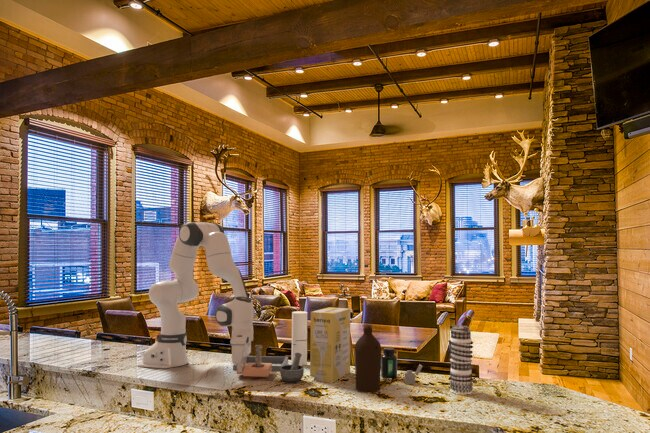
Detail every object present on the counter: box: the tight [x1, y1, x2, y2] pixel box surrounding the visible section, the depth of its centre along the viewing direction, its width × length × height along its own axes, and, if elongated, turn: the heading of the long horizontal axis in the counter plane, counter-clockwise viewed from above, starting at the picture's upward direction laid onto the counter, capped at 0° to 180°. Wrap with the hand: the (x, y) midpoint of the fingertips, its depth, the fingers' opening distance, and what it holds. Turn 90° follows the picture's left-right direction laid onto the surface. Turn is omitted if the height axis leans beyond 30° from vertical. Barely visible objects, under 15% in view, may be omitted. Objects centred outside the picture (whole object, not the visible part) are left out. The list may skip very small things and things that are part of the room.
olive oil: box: [353, 323, 382, 393], centre depth 186 cm, size 11×11×25 cm
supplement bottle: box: [380, 347, 398, 379], centre depth 203 cm, size 7×7×12 cm
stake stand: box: [237, 344, 278, 382], centre depth 197 cm, size 14×14×14 cm
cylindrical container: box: [290, 310, 308, 367], centre depth 219 cm, size 7×7×25 cm
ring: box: [236, 363, 273, 377], centre depth 197 cm, size 14×10×3 cm
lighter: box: [404, 363, 423, 385], centre depth 192 cm, size 7×2×8 cm, turn 75°
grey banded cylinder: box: [448, 324, 474, 395], centre depth 183 cm, size 9×9×25 cm
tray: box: [232, 355, 289, 372], centre depth 215 cm, size 22×18×4 cm
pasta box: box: [309, 306, 351, 384], centre depth 204 cm, size 18×10×28 cm, turn 154°
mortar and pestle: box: [279, 353, 305, 384], centre depth 190 cm, size 11×9×12 cm
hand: (241, 369), depth 197 cm, fingers closed on ring, 4 cm apart
